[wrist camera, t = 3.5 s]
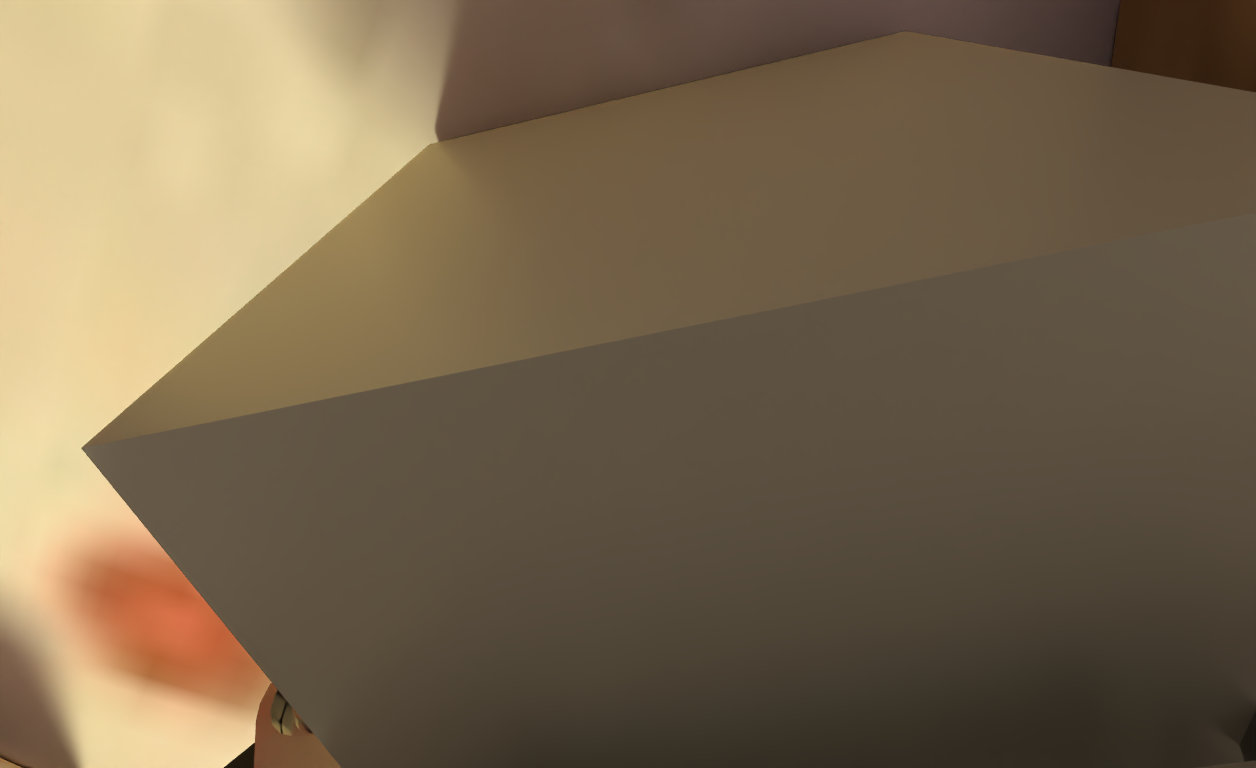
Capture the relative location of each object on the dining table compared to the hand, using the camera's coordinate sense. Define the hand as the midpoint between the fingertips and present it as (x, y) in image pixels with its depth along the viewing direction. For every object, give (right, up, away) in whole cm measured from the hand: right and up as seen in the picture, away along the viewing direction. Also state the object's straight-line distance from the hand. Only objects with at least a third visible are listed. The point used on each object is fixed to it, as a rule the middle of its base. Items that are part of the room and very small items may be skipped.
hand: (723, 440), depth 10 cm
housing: (0, +1, +1) cm, 1 cm away
